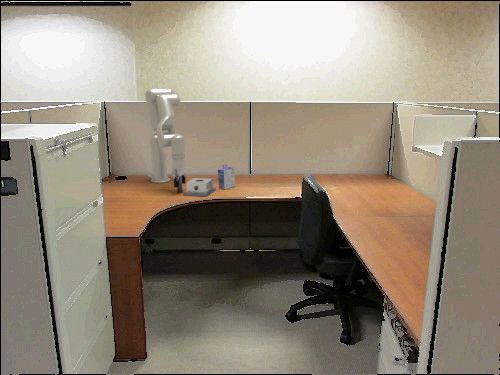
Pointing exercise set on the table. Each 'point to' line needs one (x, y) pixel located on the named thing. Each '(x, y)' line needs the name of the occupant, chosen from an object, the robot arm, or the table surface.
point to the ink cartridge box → (226, 177)
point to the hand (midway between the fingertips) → (179, 185)
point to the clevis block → (199, 187)
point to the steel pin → (180, 185)
